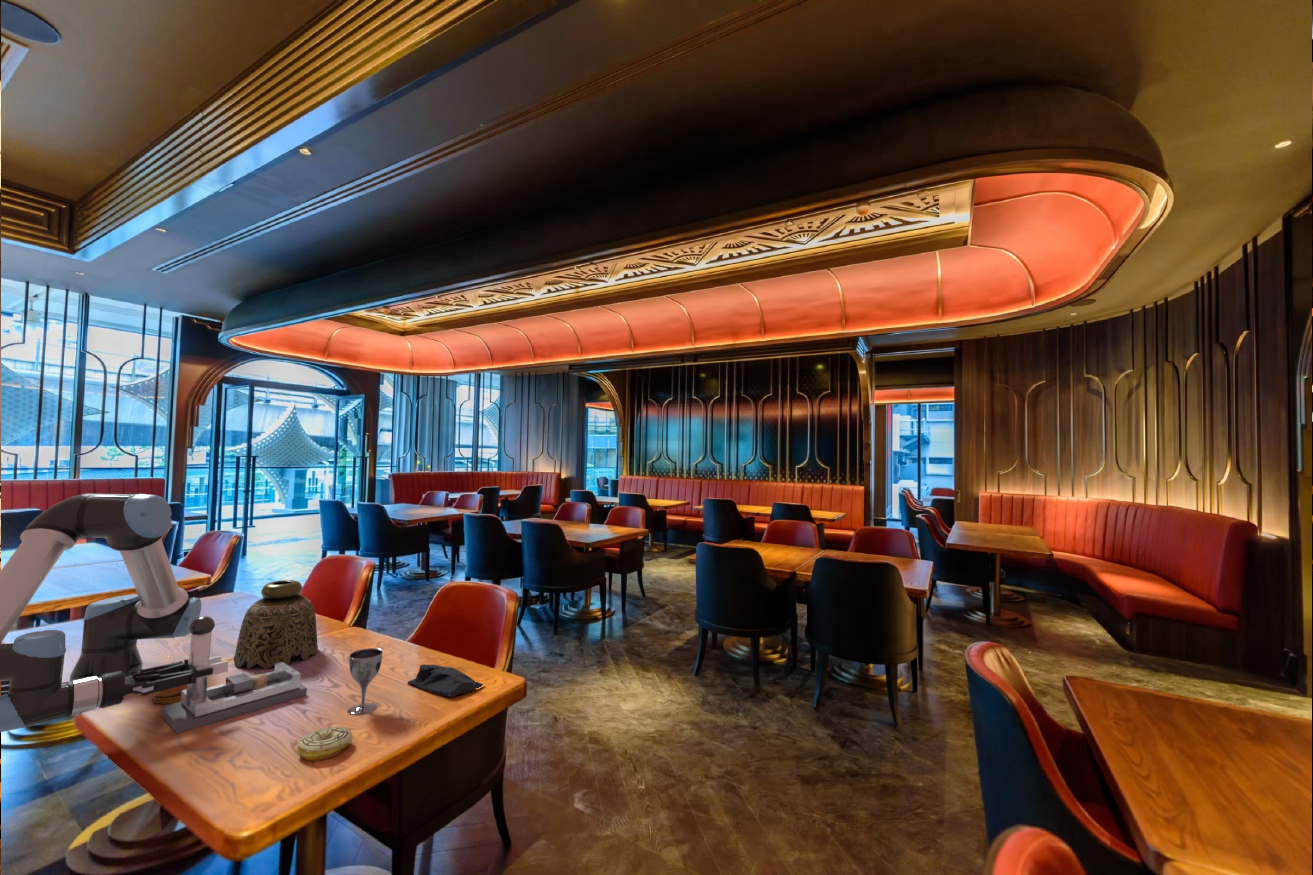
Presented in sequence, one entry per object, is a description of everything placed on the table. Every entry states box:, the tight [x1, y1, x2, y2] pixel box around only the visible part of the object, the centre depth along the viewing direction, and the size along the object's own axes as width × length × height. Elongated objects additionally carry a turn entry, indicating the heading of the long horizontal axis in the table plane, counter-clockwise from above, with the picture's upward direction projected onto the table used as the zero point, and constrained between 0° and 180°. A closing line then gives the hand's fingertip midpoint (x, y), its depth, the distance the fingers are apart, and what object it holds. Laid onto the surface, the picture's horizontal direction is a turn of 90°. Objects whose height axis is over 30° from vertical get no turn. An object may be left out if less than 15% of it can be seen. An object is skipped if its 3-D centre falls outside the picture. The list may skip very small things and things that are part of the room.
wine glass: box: [347, 647, 383, 716], centre depth 143 cm, size 8×8×15 cm
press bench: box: [160, 680, 308, 734], centre depth 142 cm, size 15×28×2 cm, turn 144°
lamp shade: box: [233, 579, 319, 670], centre depth 178 cm, size 23×23×25 cm
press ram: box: [181, 615, 302, 717], centre depth 144 cm, size 13×24×23 cm, turn 144°
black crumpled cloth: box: [407, 663, 484, 698], centre depth 160 cm, size 15×22×5 cm
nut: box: [249, 673, 268, 691], centre depth 146 cm, size 4×4×4 cm
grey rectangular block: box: [225, 672, 253, 698], centre depth 143 cm, size 7×4×5 cm, turn 54°
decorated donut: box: [296, 726, 353, 762], centre depth 122 cm, size 10×11×4 cm
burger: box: [152, 685, 187, 705], centre depth 145 cm, size 10×9×5 cm
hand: (223, 663), depth 140 cm, fingers open, 5 cm apart
